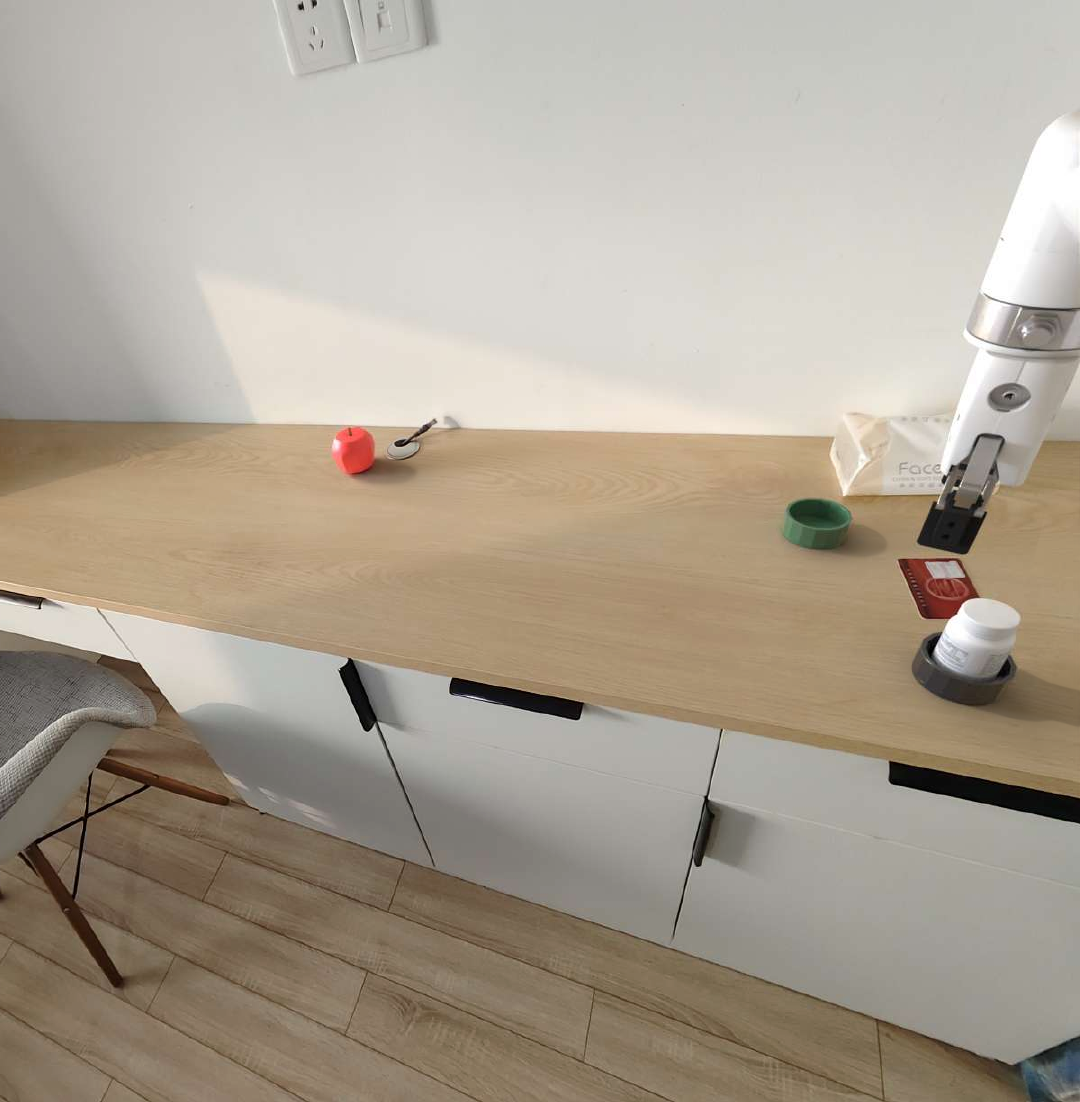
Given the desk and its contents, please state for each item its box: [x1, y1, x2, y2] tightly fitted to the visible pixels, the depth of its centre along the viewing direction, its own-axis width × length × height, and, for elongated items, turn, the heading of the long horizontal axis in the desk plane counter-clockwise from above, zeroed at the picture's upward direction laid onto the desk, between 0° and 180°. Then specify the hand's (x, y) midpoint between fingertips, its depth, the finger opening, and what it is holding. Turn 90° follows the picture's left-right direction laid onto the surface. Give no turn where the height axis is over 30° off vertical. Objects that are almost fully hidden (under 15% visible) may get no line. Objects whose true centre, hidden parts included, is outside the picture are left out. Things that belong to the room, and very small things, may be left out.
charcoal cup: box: [911, 631, 1018, 706], centre depth 63 cm, size 7×7×3 cm
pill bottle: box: [930, 597, 1022, 682], centre depth 61 cm, size 5×5×8 cm
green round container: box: [780, 497, 853, 550], centre depth 82 cm, size 7×7×3 cm
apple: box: [331, 426, 376, 475], centre depth 116 cm, size 8×8×8 cm
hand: (953, 516), depth 55 cm, fingers open, 9 cm apart
